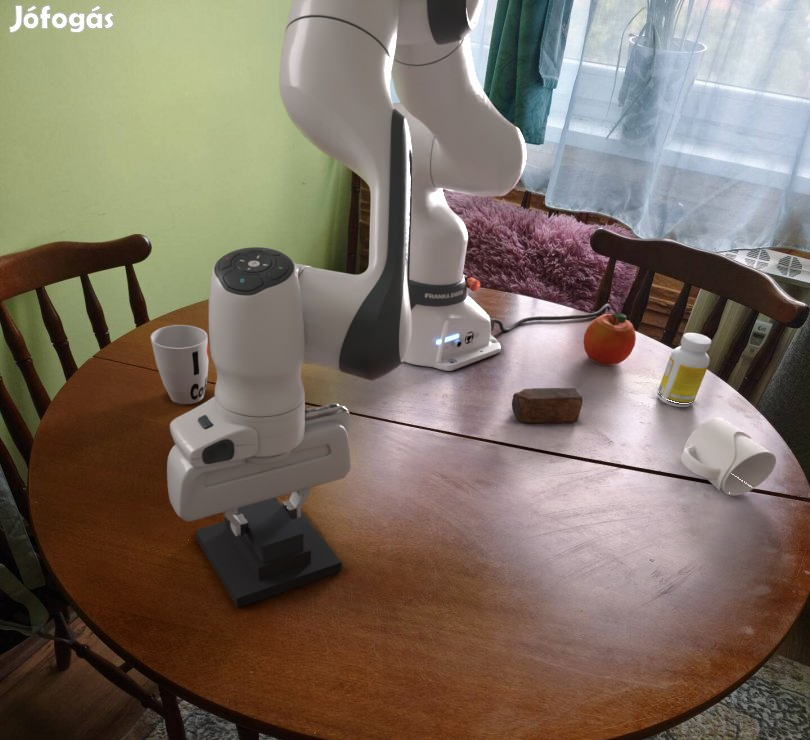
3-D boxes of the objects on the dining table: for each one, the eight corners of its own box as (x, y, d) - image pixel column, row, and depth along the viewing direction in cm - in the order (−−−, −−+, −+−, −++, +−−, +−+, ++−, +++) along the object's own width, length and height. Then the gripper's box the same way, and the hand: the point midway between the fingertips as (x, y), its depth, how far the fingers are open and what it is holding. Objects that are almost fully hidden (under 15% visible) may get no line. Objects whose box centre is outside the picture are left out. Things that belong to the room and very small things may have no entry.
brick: (569, 411, 117) (575, 386, 114) (577, 423, 114) (584, 398, 111) (509, 412, 115) (514, 386, 112) (516, 424, 112) (521, 398, 109)
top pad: (270, 506, 85) (270, 490, 83) (303, 550, 79) (303, 533, 78) (232, 517, 82) (230, 501, 81) (263, 563, 77) (262, 546, 75)
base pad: (293, 510, 90) (293, 501, 89) (341, 571, 82) (341, 562, 81) (196, 539, 84) (194, 529, 83) (237, 608, 76) (236, 598, 75)
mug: (718, 457, 110) (738, 413, 105) (762, 490, 104) (786, 446, 99) (659, 469, 106) (677, 424, 101) (701, 505, 100) (723, 459, 94)
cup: (200, 413, 106) (193, 352, 99) (150, 403, 107) (140, 342, 100) (221, 388, 112) (216, 330, 106) (174, 380, 113) (166, 321, 106)
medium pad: (275, 514, 87) (274, 502, 85) (311, 563, 81) (311, 550, 79) (225, 529, 84) (224, 516, 82) (259, 580, 78) (258, 567, 76)
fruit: (620, 350, 138) (635, 301, 131) (633, 373, 131) (650, 322, 124) (573, 347, 137) (586, 297, 131) (584, 369, 130) (599, 318, 123)
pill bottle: (699, 408, 122) (725, 346, 115) (666, 409, 121) (690, 347, 113) (681, 390, 127) (704, 330, 120) (649, 391, 126) (671, 330, 118)
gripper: (336, 386, 78) (333, 486, 87) (153, 425, 68) (170, 532, 77) (364, 413, 74) (358, 514, 83) (174, 458, 64) (190, 567, 73)
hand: (266, 523), depth 80 cm, fingers closed on top pad, 5 cm apart
